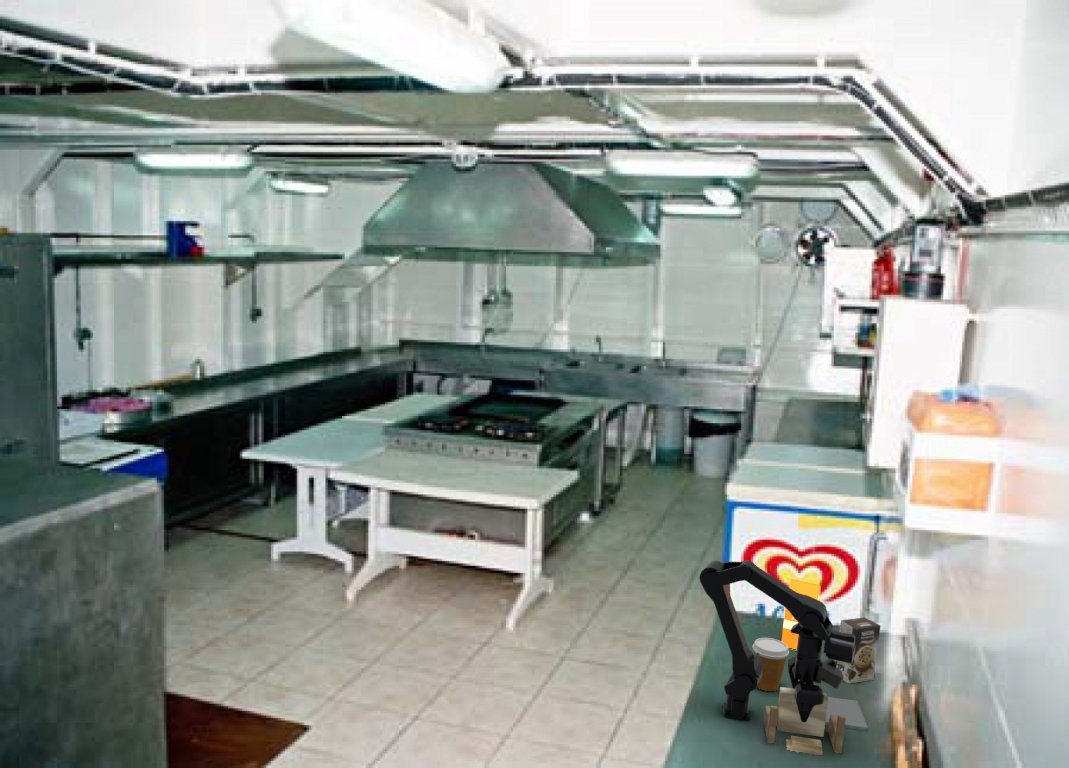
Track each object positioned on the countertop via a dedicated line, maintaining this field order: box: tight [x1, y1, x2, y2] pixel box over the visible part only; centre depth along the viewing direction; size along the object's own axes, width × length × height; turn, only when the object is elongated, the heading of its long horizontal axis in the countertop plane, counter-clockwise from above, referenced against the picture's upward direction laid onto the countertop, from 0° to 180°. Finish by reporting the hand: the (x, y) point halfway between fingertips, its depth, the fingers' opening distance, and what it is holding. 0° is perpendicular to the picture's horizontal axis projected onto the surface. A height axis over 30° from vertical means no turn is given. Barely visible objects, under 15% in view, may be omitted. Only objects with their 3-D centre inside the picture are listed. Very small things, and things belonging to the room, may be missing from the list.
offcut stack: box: [785, 735, 823, 756], centre depth 219 cm, size 4×8×2 cm, turn 80°
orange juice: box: [781, 578, 821, 651], centre depth 275 cm, size 8×9×20 cm
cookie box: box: [835, 617, 881, 685], centre depth 257 cm, size 9×6×16 cm
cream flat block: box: [776, 686, 829, 738], centre depth 227 cm, size 3×11×10 cm, turn 81°
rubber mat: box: [825, 696, 869, 732], centre depth 237 cm, size 14×16×1 cm
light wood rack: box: [763, 705, 846, 754], centre depth 223 cm, size 10×17×9 cm, turn 81°
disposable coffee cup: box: [752, 637, 790, 692], centre depth 248 cm, size 10×10×12 cm
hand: (801, 712), depth 227 cm, fingers open, 9 cm apart
